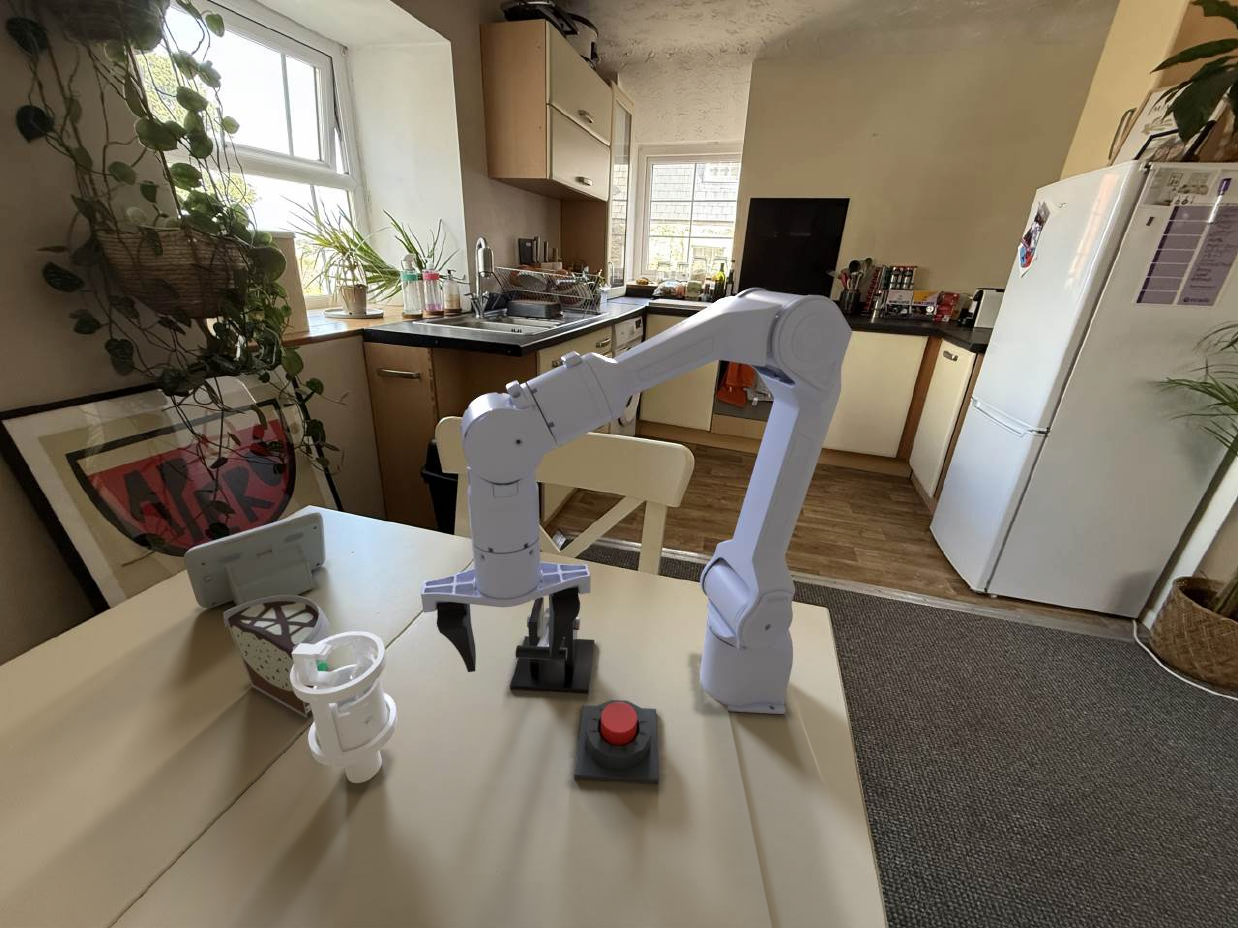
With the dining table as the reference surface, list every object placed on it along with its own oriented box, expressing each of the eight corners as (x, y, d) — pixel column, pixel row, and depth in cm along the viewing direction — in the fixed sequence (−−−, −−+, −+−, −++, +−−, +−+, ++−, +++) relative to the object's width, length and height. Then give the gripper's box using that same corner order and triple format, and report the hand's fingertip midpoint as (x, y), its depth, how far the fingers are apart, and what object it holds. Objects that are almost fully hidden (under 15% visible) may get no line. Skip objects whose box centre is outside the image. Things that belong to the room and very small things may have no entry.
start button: (636, 715, 51) (637, 702, 51) (636, 746, 48) (637, 733, 47) (601, 713, 51) (602, 700, 51) (599, 744, 48) (599, 731, 47)
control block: (655, 716, 54) (657, 695, 53) (658, 788, 47) (660, 766, 46) (582, 712, 54) (582, 691, 53) (574, 783, 47) (574, 761, 46)
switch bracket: (588, 697, 56) (589, 636, 53) (509, 693, 56) (505, 632, 53) (594, 646, 64) (595, 590, 60) (524, 642, 64) (521, 586, 60)
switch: (565, 668, 49) (566, 644, 49) (514, 665, 49) (515, 642, 49) (576, 628, 59) (577, 609, 59) (534, 626, 59) (534, 606, 59)
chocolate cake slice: (367, 682, 57) (352, 612, 53) (317, 723, 52) (296, 649, 48) (296, 646, 62) (277, 580, 58) (244, 681, 56) (219, 611, 53)
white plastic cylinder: (348, 736, 51) (319, 619, 45) (417, 740, 50) (396, 622, 45) (306, 807, 44) (266, 680, 38) (384, 811, 44) (356, 684, 38)
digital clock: (329, 558, 79) (316, 499, 75) (340, 587, 73) (326, 524, 69) (200, 594, 70) (177, 529, 66) (199, 631, 64) (173, 561, 59)
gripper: (582, 507, 48) (581, 620, 53) (421, 519, 44) (437, 639, 50) (596, 546, 41) (593, 670, 47) (410, 564, 38) (430, 695, 43)
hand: (513, 657), depth 48 cm, fingers open, 7 cm apart
